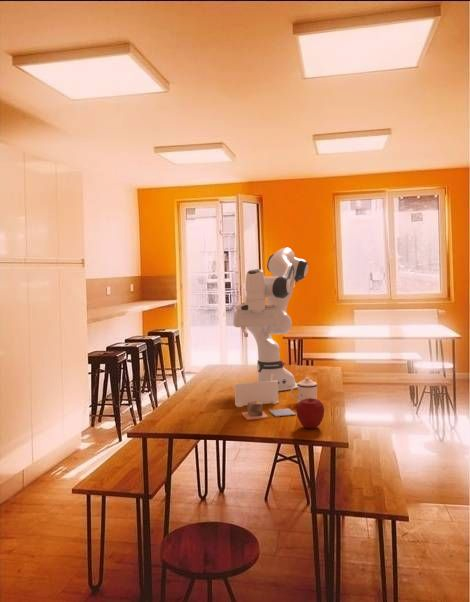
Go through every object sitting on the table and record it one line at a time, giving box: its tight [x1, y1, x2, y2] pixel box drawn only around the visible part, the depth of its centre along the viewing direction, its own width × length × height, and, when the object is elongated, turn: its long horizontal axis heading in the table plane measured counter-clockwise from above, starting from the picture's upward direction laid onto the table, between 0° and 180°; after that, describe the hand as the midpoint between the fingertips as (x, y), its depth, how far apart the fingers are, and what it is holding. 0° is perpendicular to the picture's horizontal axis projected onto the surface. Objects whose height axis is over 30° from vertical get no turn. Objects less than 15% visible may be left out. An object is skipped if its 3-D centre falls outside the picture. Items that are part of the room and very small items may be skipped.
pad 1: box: [241, 410, 269, 421], centre depth 216 cm, size 9×9×1 cm
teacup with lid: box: [290, 377, 318, 404], centre depth 234 cm, size 12×9×12 cm
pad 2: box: [268, 408, 297, 418], centre depth 218 cm, size 9×9×1 cm
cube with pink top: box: [246, 401, 263, 417], centre depth 215 cm, size 5×5×5 cm
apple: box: [295, 398, 325, 430], centre depth 198 cm, size 11×11×12 cm
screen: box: [234, 380, 280, 408], centre depth 234 cm, size 20×5×10 cm, turn 103°
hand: (256, 336), depth 232 cm, fingers open, 8 cm apart
